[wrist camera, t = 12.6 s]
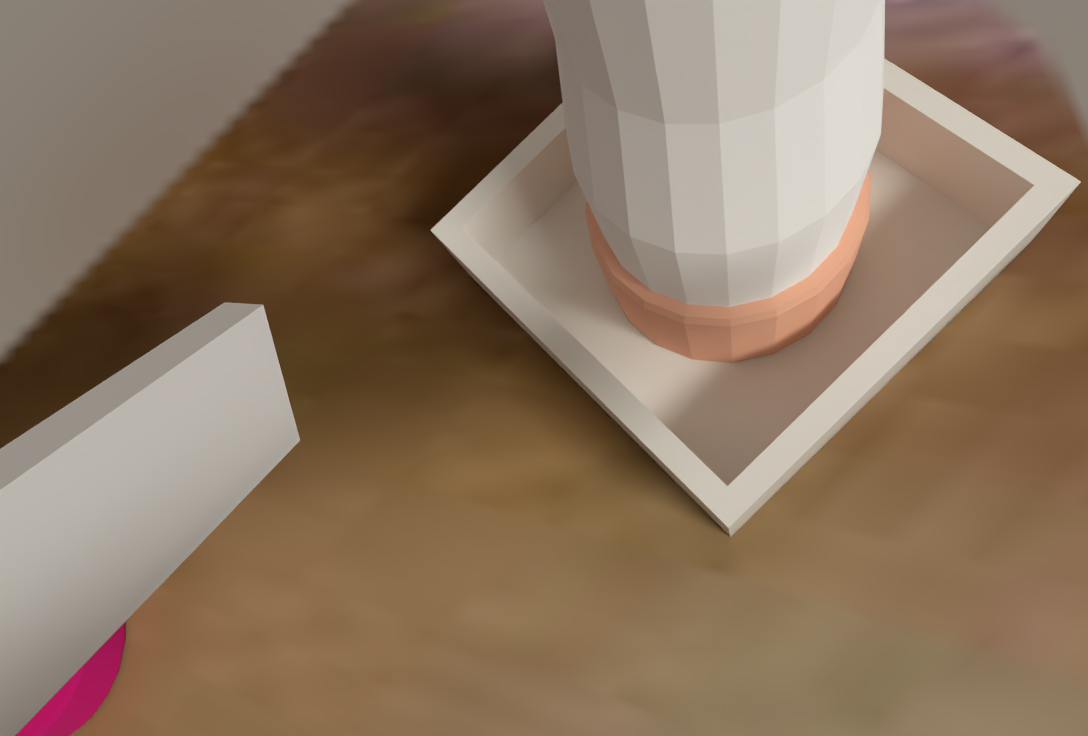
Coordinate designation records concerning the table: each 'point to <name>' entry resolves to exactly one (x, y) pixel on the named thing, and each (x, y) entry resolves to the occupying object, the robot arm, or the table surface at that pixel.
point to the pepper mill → (80, 692)
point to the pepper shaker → (723, 159)
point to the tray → (800, 368)
